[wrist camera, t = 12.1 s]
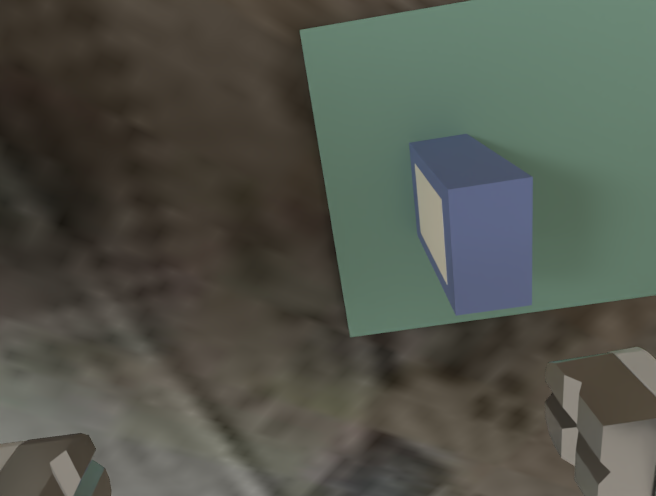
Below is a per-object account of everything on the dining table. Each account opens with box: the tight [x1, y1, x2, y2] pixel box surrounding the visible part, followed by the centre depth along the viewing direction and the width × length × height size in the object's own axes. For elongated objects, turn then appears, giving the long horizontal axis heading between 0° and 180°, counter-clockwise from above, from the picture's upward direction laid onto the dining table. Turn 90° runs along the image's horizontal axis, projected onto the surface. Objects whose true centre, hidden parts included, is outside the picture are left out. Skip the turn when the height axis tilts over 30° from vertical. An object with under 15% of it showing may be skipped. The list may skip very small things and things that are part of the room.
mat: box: [300, 0, 656, 337], centre depth 21 cm, size 15×14×1 cm
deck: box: [409, 134, 533, 316], centre depth 18 cm, size 4×2×7 cm, turn 9°
